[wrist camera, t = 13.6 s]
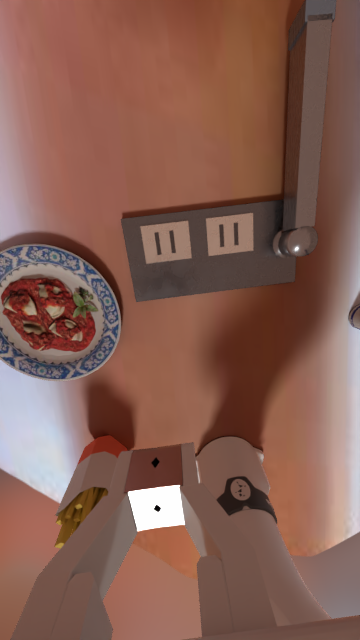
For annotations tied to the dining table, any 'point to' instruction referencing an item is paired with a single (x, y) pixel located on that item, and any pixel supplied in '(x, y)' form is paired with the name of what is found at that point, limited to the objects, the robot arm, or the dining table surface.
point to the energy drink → (355, 317)
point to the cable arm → (305, 123)
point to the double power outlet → (207, 250)
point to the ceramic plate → (55, 313)
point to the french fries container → (88, 484)
